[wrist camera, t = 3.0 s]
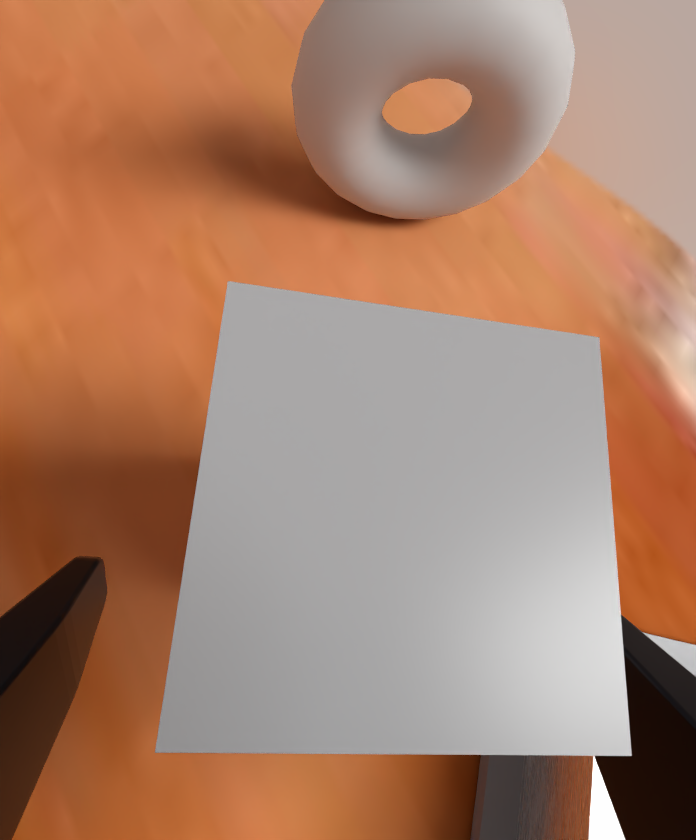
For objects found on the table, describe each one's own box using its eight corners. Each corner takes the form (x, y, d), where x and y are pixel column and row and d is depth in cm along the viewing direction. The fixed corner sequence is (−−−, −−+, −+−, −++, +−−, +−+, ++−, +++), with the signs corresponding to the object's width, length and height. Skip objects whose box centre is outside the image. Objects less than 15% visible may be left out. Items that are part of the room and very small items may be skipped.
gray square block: (371, 605, 18) (631, 756, 5) (235, 597, 17) (154, 753, 4) (378, 472, 19) (598, 337, 6) (252, 459, 18) (228, 281, 6)
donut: (488, 187, 23) (642, -57, 14) (492, 247, 23) (659, 31, 13) (287, 156, 22) (305, -143, 12) (283, 219, 21) (299, -50, 11)
